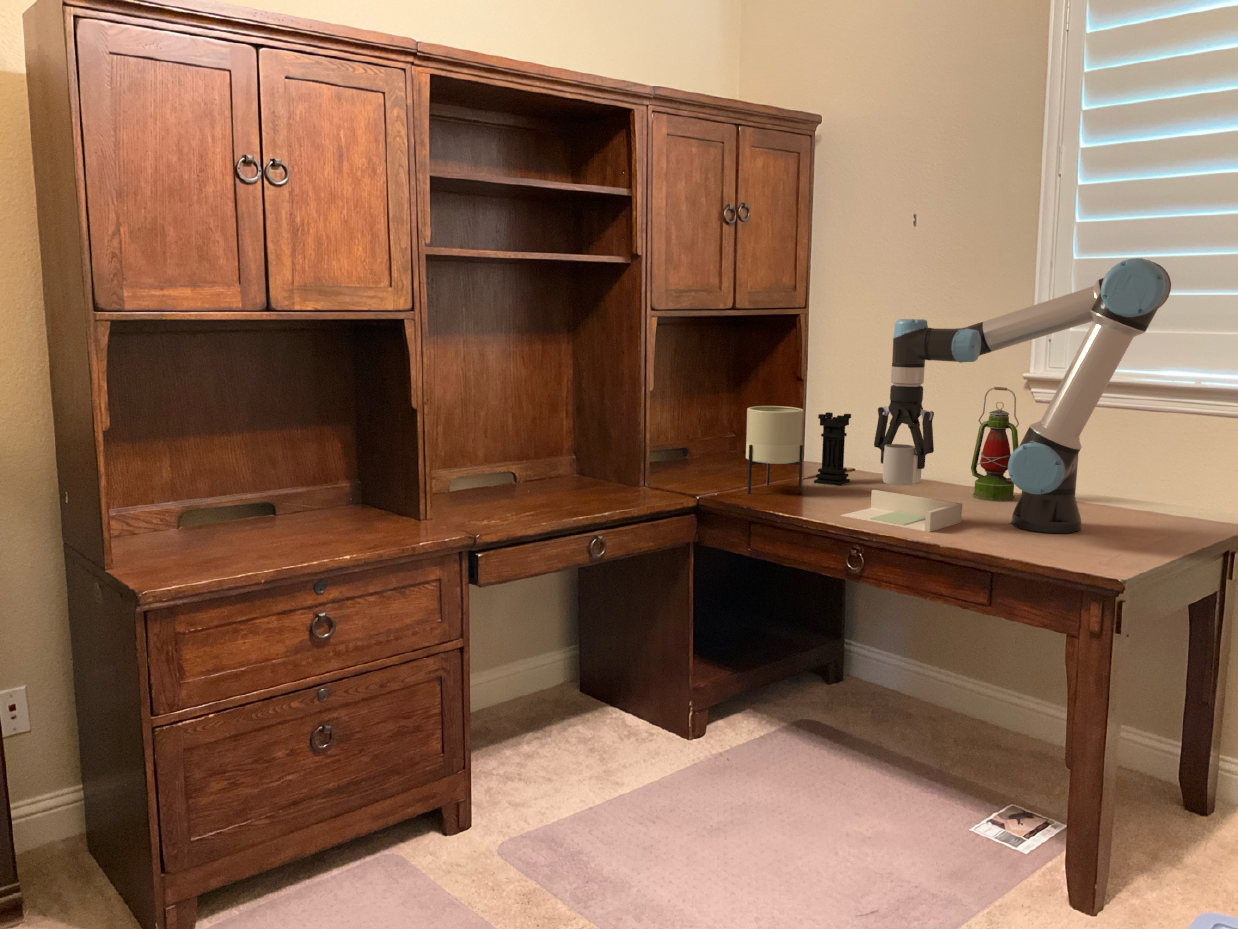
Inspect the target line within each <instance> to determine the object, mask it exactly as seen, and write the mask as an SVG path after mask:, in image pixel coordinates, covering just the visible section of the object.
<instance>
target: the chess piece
mask: <svg viewBox="0 0 1238 929" xmlns="http://www.w3.org/2000/svg"><path fill="white" fill-rule="evenodd" d="M833 415H834V414H833V412H825V414H824V413H819V414H818V415H817V418H818V419H817V420H819V426H820V427H822V428H823V429H822V432H823V433H821V434H820V436H821V437H822V451H821V452H822V454H821V467H820V468H818V469H817V472H818V473H817V474H815V478H816V479H813V484H820V485H829V486H839V487H840V486H844V485H845V484H848V483H850V482H851V479H850V478H848V477H849V473H847V471H848V469H847V468H846V467H844V464H845V461H844V460H845V439H846V438H845V437H847V434H848V432H846V426H849V425H850V419H852V413H844V414H843V415H841V414H840V415H836V416H833Z"/></svg>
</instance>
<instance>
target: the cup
mask: <svg viewBox="0 0 1238 929" xmlns="http://www.w3.org/2000/svg"><path fill="white" fill-rule="evenodd" d="M915 454H917V452H916V449H915V445H911V444H902V443H901V444H900V443H892V444H888V445H885V450H884V468H883V467H882V482H883V483H884V484H886V485H890V486H891V485H892V486H902V487H903V486H906V487H907V486H912V485H913V484H914V483H912V475H913V458H914V455H915Z"/></svg>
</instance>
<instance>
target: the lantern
mask: <svg viewBox="0 0 1238 929" xmlns="http://www.w3.org/2000/svg"><path fill="white" fill-rule="evenodd" d="M992 390H995V391H1008V392H1010V393H1011V394H1012V395H1013V398H1014V399H1013V400H1014V403H1013V404H1014V405H1013V411H1014V412H1013V416H1014V419H1015V421H1016V423H1017V424H1016V425H1015V424H1014V423H1011V422H1010V417H1009V416H1010V413H1009V412H1007V411H1006V410H1003V409H1004V403H1003V401H1001V402H999V401H997V402H995V403H996V404H995V407H996V410H993V411H990V412H988V414H989V416H988V420H985V421H983V422H982V421H981V419H982V417H983V416H984V414H985V408H986V400H987V395H988V394H989V392H991V391H992ZM998 404H1002V407H1001V408H999V407H998ZM1016 405H1017V397H1016V395H1015V392H1014V391H1012V390H1011V389H1009V388H1007V387H1002V386H994V387H992V388H989V389H988V390H987V391H986V392H985V395H984V400H983V407H982V408H983V409H982V413H981V415H980V416H979V419H978V422H979V424H980V425H979V427H978V433H977V436H976V441H975V447H974V451H973V456H972V459H971V466H970V469H971V470H970V471H971V474H972V475H971V476H973V477H974V478H976V480H975V481H974V489H973V490H974V493H973V494H972V497H973V498H974V499H977V500H980V501H986V502H987V501H988V502H999V503H1000V502H1002V503H1003V502H1004V503H1005V502H1012V501H1014V500H1015V495H1014V491H1015V484H1014V483H1013V482H1012V480H1011V478H1010V477H1008V478H1007V477H1006V476H1004V475H1005V473H1006V471H1008V462H1009V459H1010V456H1011V454H1012V453H1011V446H1010V441H1009V438H1008V435H1007V429H1010V430H1011V441H1012V452H1013V451H1015V449H1016V448H1018V447H1019V435H1018V429H1017V428H1018V427H1019V425H1020V422H1019V419H1018V418H1017V415H1016V414H1017V410H1016V409H1017V406H1016ZM986 428H989V429H990V430H989V432H988V434H987V437H986V439H985V442H984V443H983V438H984V434H985V429H986ZM982 443H983V449H982V451H981V448H982ZM980 456H981V457H980ZM979 458H980V461H979ZM978 462H979V463H978ZM978 465H980V467H981V468H982V469H983V470H984V472H985V473H986V475H983V474H981V473H979V472H978V470H977V469H978Z"/></svg>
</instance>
